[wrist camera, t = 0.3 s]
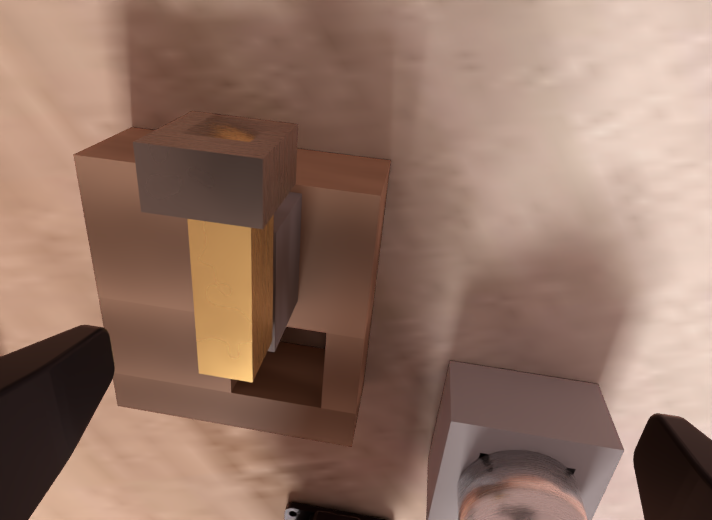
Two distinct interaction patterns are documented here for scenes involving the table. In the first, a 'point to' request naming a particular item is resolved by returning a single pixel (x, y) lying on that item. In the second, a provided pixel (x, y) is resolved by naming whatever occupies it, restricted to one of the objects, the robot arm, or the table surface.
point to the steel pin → (518, 488)
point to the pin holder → (519, 430)
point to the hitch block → (290, 295)
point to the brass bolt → (223, 224)
